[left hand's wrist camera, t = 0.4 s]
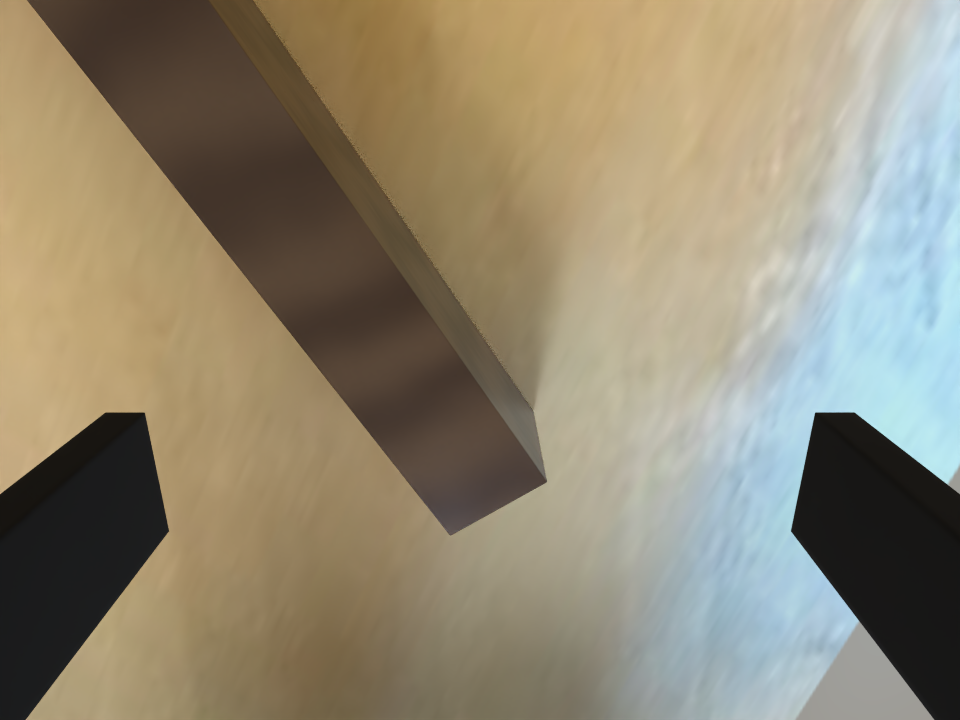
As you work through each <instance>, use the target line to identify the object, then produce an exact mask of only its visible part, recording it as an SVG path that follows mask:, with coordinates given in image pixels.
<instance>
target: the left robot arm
mask: <svg viewBox="0 0 960 720" xmlns="http://www.w3.org/2000/svg"><path fill="white" fill-rule="evenodd" d="M168 532H169V529H168V524H167V519H166V514H165V509H164V504H163V499H162V495H161V490H160V485H159V480H158V475H157V470H156V465H155V460H154V455H153V451H152V446H151V441H150V436H149V431H148V426H147V421H146V416H145V413H104V414H103V415H102V416H101V417H99V418H98V419H97V420H95V421H94V422H93V423H92V424H90V425H89V426H88V427H86V428H85V429H84V430H83V431H81V432H80V433H79V434H77V435H76V436H75V437H73V438H72V439H71V440H70V441H68V442H67V443H66V444H64V445H63V446H62V447H61V448H59V449H58V450H57V451H55V452H54V453H53V454H52V455H50V456H49V457H48V458H46V459H45V460H44V461H43V462H41V463H40V464H39V465H37V466H36V467H35V468H34V469H32V470H31V471H30V472H28V473H27V474H26V475H24V476H23V477H22V478H21V479H19V480H18V481H17V482H15V483H14V484H13V485H12V486H10V487H9V488H8V489H6V490H5V491H4V492H3V493H1V494H0V720H26V718H27V717H28V716H29V714H30V713H31V712H32V711H33V709H34V708H35V707H36V705H37V704H38V703H39V701H40V700H41V699H42V697H43V696H44V695H45V693H46V692H47V691H48V690H49V688H50V687H51V686H52V684H53V683H54V682H55V680H56V679H57V678H58V676H59V675H60V674H61V672H62V671H63V670H64V668H65V667H66V666H67V665H68V663H69V662H70V661H71V659H72V658H73V657H74V655H75V654H76V653H77V651H78V650H79V649H80V647H81V646H82V645H83V644H84V642H85V641H86V640H87V638H88V637H89V636H90V634H91V633H92V632H93V630H94V629H95V628H96V626H97V625H98V624H99V622H100V621H101V620H102V619H103V617H104V616H105V615H106V613H107V612H108V611H109V609H110V608H111V607H112V605H113V604H114V603H115V601H116V600H117V599H118V598H119V596H120V595H121V594H122V592H123V591H124V590H125V588H126V587H127V586H128V584H129V583H130V582H131V580H132V579H133V578H134V576H135V575H136V574H137V573H138V571H139V570H140V569H141V567H142V566H143V565H144V563H145V562H146V561H147V559H148V558H149V557H150V555H151V554H152V553H153V552H154V550H155V549H156V548H157V546H158V545H159V544H160V542H161V541H162V540H163V538H164V537H165V536H166V534H167V533H168ZM791 532H792V533H793V534H794V536H795V537H796V538H797V540H798V541H799V542H800V544H801V545H802V546H803V548H804V549H805V550H806V552H807V553H808V554H809V555H810V557H811V558H812V559H813V561H814V562H815V563H816V565H817V566H818V567H819V569H820V570H821V571H822V573H823V574H824V575H825V576H826V578H827V579H828V580H829V582H830V583H831V584H832V586H833V587H834V588H835V590H836V591H837V592H838V594H839V595H840V596H841V598H842V599H843V600H844V601H845V603H846V604H847V605H848V607H849V608H850V609H851V611H852V612H853V613H854V615H855V616H856V617H857V619H858V620H859V621H860V622H861V624H862V625H863V626H864V628H865V629H866V630H867V632H868V633H869V634H870V636H871V637H872V638H873V640H874V641H875V642H876V644H877V645H878V646H879V647H880V649H881V650H882V651H883V653H884V654H885V655H886V657H887V658H888V659H889V661H890V662H891V663H892V665H893V666H894V667H895V668H896V670H897V671H898V672H899V674H900V675H901V676H902V678H903V679H904V680H905V682H906V683H907V684H908V686H909V687H910V688H911V690H912V691H913V692H914V693H915V695H916V696H917V697H918V699H919V700H920V701H921V703H922V704H923V705H924V707H925V708H926V709H927V711H928V712H929V713H930V714H931V716H932V717H933V718H934V720H960V494H959V493H957V492H956V491H955V490H954V489H952V488H951V487H950V486H948V485H947V484H946V483H945V482H943V481H942V480H941V479H939V478H938V477H937V476H936V475H934V474H933V473H932V472H930V471H929V470H928V469H926V468H925V467H924V466H923V465H921V464H920V463H919V462H917V461H916V460H915V459H914V458H912V457H911V456H910V455H908V454H907V453H906V452H905V451H903V450H902V449H901V448H899V447H898V446H897V445H896V444H894V443H893V442H892V441H890V440H889V439H888V438H887V437H885V436H884V435H883V434H881V433H880V432H879V431H877V430H876V429H875V428H874V427H872V426H871V425H870V424H868V423H867V422H866V421H865V420H863V419H862V418H861V417H859V416H858V415H857V414H856V413H815V416H814V421H813V426H812V431H811V436H810V441H809V446H808V451H807V455H806V460H805V465H804V470H803V475H802V480H801V485H800V490H799V494H798V499H797V504H796V509H795V514H794V519H793V524H792V529H791Z"/></svg>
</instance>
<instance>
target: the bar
mask: <svg viewBox="0 0 960 720" xmlns="http://www.w3.org/2000/svg"><path fill="white" fill-rule="evenodd" d="M27 1H28V2H29V3H30V4H31V6H32V7H33V8H34V9H35V11H36V12H37V13H38V14H39V16H40V17H41V18H42V20H43V21H44V22H45V23H46V25H47V26H48V27H49V28H50V30H51V31H52V32H53V33H54V35H55V36H56V37H57V38H58V40H59V41H60V42H61V44H62V45H63V46H64V47H65V49H66V50H67V51H68V52H69V54H70V55H71V56H72V57H73V59H74V60H75V61H76V63H77V64H78V65H79V66H80V68H81V69H82V70H83V71H84V73H85V74H86V75H87V76H88V78H89V79H90V80H91V82H92V83H93V84H94V85H95V87H96V88H97V89H98V90H99V92H100V93H101V94H102V95H103V97H104V98H105V99H106V100H107V102H108V103H109V104H110V106H111V107H112V108H113V109H114V111H115V112H116V113H117V114H118V116H119V117H120V118H121V119H122V121H123V122H124V123H125V125H126V126H127V127H128V128H129V130H130V131H131V132H132V133H133V135H134V136H135V137H136V138H137V140H138V141H139V142H140V144H141V145H142V146H143V147H144V149H145V150H146V151H147V152H148V154H149V155H150V156H151V157H152V159H153V160H154V161H155V162H156V164H157V165H158V166H159V168H160V169H161V170H162V171H163V173H164V174H165V175H166V176H167V178H168V179H169V180H170V181H171V183H172V184H173V185H174V187H175V188H176V189H177V190H178V192H179V193H180V194H181V195H182V197H183V198H184V199H185V200H186V202H187V203H188V204H189V206H190V207H191V208H192V209H193V211H194V212H195V213H196V214H197V216H198V217H199V218H200V219H201V221H202V222H203V223H204V225H205V226H206V227H207V228H208V230H209V231H210V232H211V233H212V235H213V236H214V237H215V238H216V240H217V241H218V242H219V243H220V245H221V246H222V247H223V249H224V250H225V251H226V252H227V254H228V255H229V256H230V257H231V259H232V260H233V261H234V262H235V264H236V265H237V266H238V268H239V269H240V270H241V271H242V273H243V274H244V275H245V276H246V278H247V279H248V280H249V281H250V283H251V284H252V285H253V287H254V288H255V289H256V290H257V292H258V293H259V294H260V295H261V297H262V298H263V299H264V300H265V302H266V303H267V304H268V305H269V307H270V308H271V309H272V311H273V312H274V313H275V314H276V316H277V317H278V318H279V319H280V321H281V322H282V323H283V324H284V326H285V327H286V328H287V330H288V331H289V332H290V333H291V335H292V336H293V337H294V338H295V340H296V341H297V342H298V343H299V345H300V346H301V347H302V349H303V350H304V351H305V352H306V354H307V355H308V356H309V357H310V359H311V360H312V361H313V362H314V364H315V365H316V366H317V368H318V369H319V370H320V371H321V373H322V374H323V375H324V376H325V378H326V379H327V380H328V381H329V383H330V384H331V385H332V386H333V388H334V389H335V390H336V392H337V393H338V394H339V395H340V397H341V398H342V399H343V400H344V402H345V403H346V404H347V405H348V407H349V408H350V409H351V411H352V412H353V413H354V414H355V416H356V417H357V418H358V419H359V421H360V422H361V423H362V424H363V426H364V427H365V428H366V430H367V431H368V432H369V433H370V435H371V436H372V437H373V438H374V440H375V441H376V442H377V443H378V445H379V446H380V447H381V448H382V450H383V451H384V452H385V454H386V455H387V456H388V457H389V459H390V460H391V461H392V462H393V464H394V465H395V466H396V467H397V469H398V470H399V471H400V473H401V474H402V475H403V476H404V478H405V479H406V480H407V481H408V483H409V484H410V485H411V486H412V488H413V489H414V490H415V492H416V493H417V494H418V495H419V497H420V498H421V499H422V500H423V502H424V503H425V504H426V505H427V507H428V508H429V509H430V511H431V512H432V513H433V514H434V516H435V517H436V518H437V519H438V521H439V522H440V523H441V524H442V526H443V527H444V528H445V529H446V531H447V532H448V533H449V535H453V534H454V533H456V532H458V531H460V530H462V529H463V528H465V527H467V526H469V525H471V524H472V523H474V522H476V521H478V520H480V519H481V518H483V517H485V516H487V515H489V514H490V513H492V512H494V511H496V510H498V509H499V508H501V507H503V506H505V505H507V504H508V503H510V502H512V501H514V500H516V499H517V498H519V497H521V496H523V495H525V494H526V493H528V492H530V491H532V490H534V489H535V488H537V487H539V486H541V485H543V484H544V483H546V482H547V479H546V474H545V469H544V464H543V459H542V453H541V448H540V443H539V438H538V433H537V427H536V422H535V417H534V412H533V410H532V409H531V407H530V406H529V404H528V403H527V401H526V400H525V398H524V397H523V396H522V394H521V393H520V391H519V390H518V388H517V387H516V385H515V384H514V382H513V381H512V379H511V378H510V376H509V375H508V374H507V372H506V371H505V369H504V368H503V366H502V365H501V363H500V362H499V360H498V359H497V357H496V356H495V354H494V353H493V352H492V350H491V349H490V347H489V346H488V344H487V343H486V341H485V340H484V338H483V337H482V335H481V334H480V332H479V331H478V330H477V328H476V327H475V325H474V324H473V322H472V321H471V319H470V318H469V316H468V315H467V313H466V312H465V310H464V309H463V308H462V306H461V305H460V303H459V302H458V300H457V299H456V297H455V296H454V294H453V293H452V291H451V290H450V288H449V287H448V286H447V284H446V283H445V281H444V280H443V278H442V277H441V275H440V274H439V272H438V271H437V269H436V268H435V266H434V265H433V264H432V262H431V261H430V259H429V258H428V256H427V255H426V253H425V252H424V250H423V249H422V247H421V246H420V244H419V243H418V242H417V240H416V239H415V237H414V236H413V234H412V233H411V231H410V230H409V228H408V227H407V225H406V224H405V222H404V221H403V220H402V218H401V217H400V215H399V214H398V212H397V211H396V209H395V208H394V206H393V205H392V203H391V202H390V200H389V199H388V198H387V196H386V195H385V193H384V192H383V190H382V189H381V187H380V186H379V184H378V183H377V181H376V180H375V178H374V177H373V176H372V174H371V173H370V171H369V170H368V168H367V167H366V165H365V164H364V162H363V161H362V159H361V158H360V156H359V155H358V154H357V152H356V151H355V149H354V148H353V146H352V145H351V143H350V142H349V140H348V139H347V137H346V136H345V134H344V133H343V132H342V130H341V129H340V127H339V126H338V124H337V123H336V121H335V120H334V118H333V117H332V115H331V114H330V112H329V111H328V110H327V108H326V107H325V105H324V104H323V102H322V101H321V99H320V98H319V96H318V95H317V93H316V92H315V90H314V89H313V88H312V86H311V85H310V83H309V82H308V80H307V79H306V77H305V76H304V74H303V73H302V71H301V70H300V68H299V67H298V66H297V64H296V63H295V61H294V60H293V58H292V57H291V55H290V54H289V52H288V51H287V49H286V48H285V46H284V45H283V44H282V42H281V41H280V39H279V38H278V36H277V35H276V33H275V32H274V30H273V29H272V27H271V26H270V24H269V23H268V22H267V20H266V19H265V17H264V16H263V14H262V13H261V11H260V10H259V8H258V7H257V5H256V4H255V2H254V1H253V0H27Z"/></svg>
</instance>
